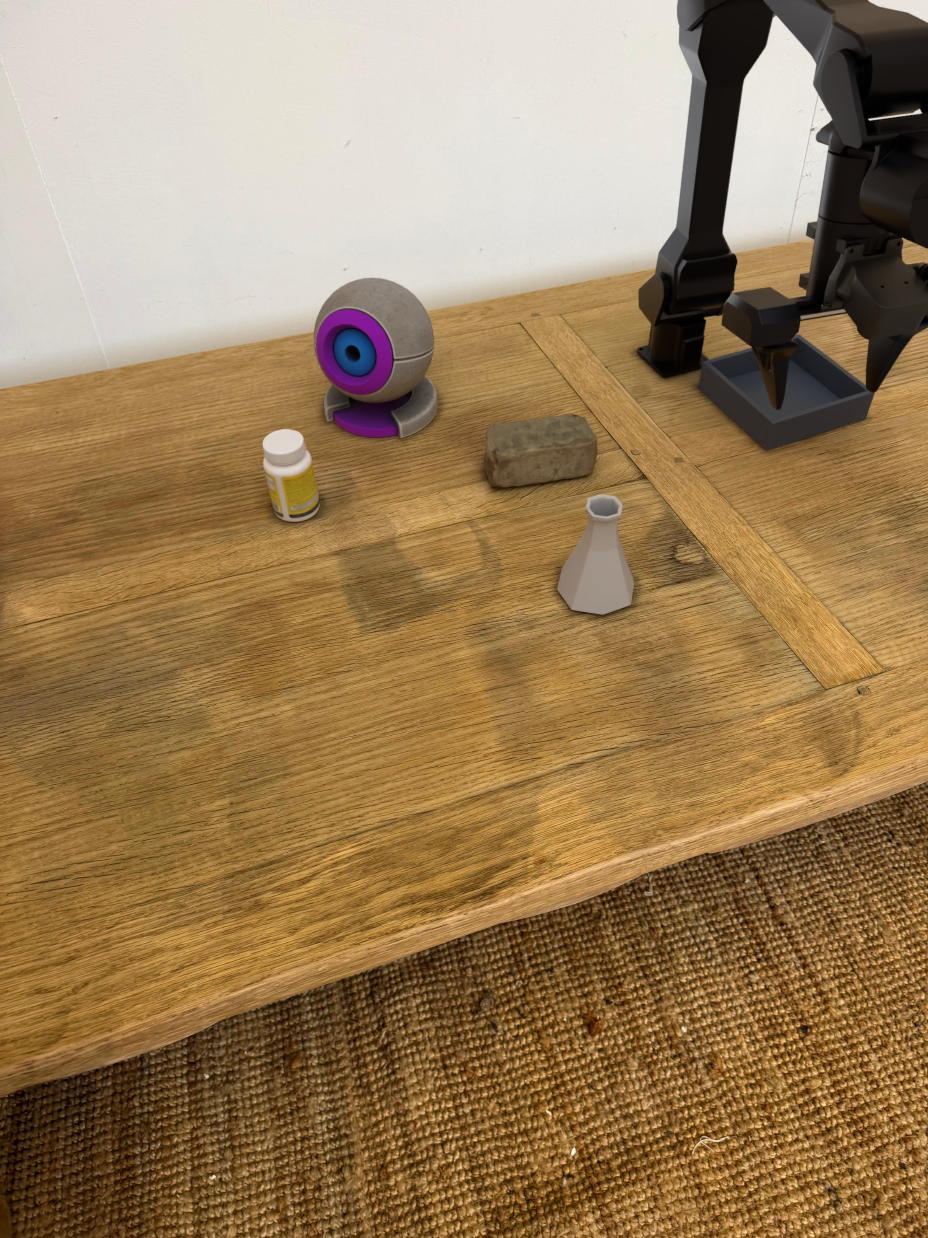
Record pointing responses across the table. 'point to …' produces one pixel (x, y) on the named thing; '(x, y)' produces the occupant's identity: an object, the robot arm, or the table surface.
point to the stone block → (539, 450)
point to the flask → (598, 562)
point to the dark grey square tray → (786, 395)
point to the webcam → (376, 359)
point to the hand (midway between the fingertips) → (823, 399)
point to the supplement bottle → (290, 476)
